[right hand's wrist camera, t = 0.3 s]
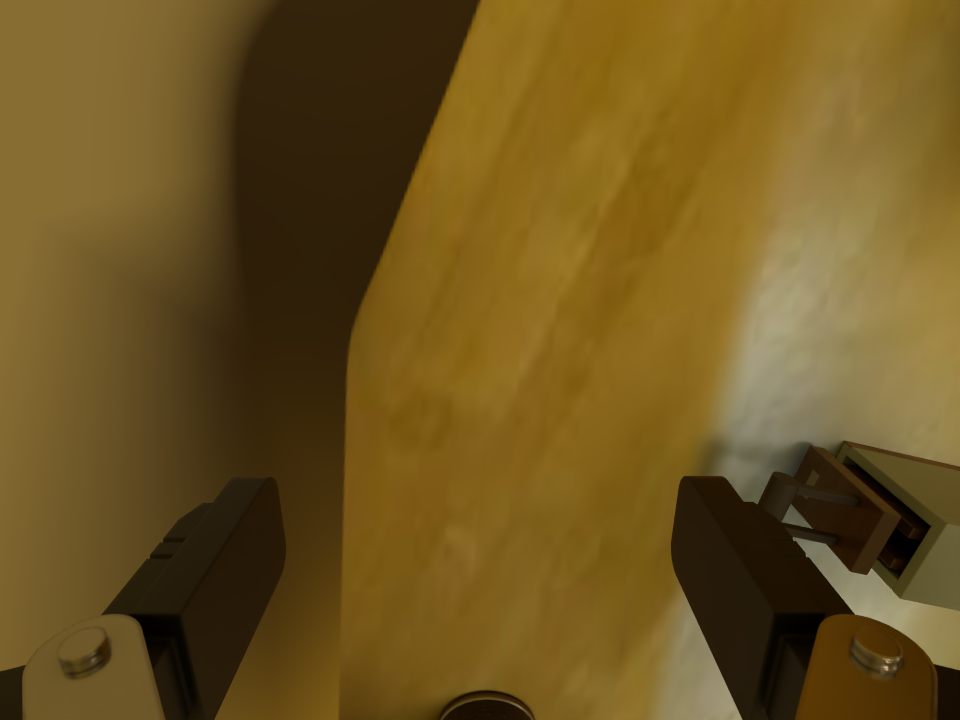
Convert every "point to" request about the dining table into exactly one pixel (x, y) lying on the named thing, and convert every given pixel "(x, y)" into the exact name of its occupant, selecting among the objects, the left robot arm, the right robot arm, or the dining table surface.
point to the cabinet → (938, 501)
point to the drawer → (846, 512)
